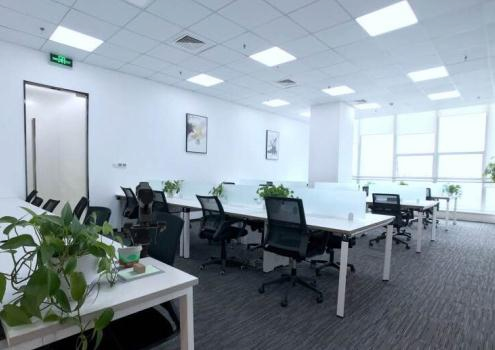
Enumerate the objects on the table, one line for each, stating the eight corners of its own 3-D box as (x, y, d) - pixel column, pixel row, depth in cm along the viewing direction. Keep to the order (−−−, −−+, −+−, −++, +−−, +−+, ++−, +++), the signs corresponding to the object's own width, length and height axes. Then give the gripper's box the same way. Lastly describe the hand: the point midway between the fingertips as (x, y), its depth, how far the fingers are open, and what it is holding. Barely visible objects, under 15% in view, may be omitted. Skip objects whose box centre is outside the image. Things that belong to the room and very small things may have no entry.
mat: (111, 275, 126) (111, 274, 126) (152, 266, 140) (152, 265, 140) (123, 284, 117) (123, 283, 117) (165, 272, 132) (166, 272, 132)
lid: (117, 274, 126) (117, 266, 126) (150, 266, 138) (150, 259, 138) (126, 280, 119) (127, 272, 119) (160, 272, 131) (160, 264, 131)
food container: (123, 271, 131) (123, 250, 131) (116, 268, 135) (117, 247, 135) (146, 265, 141) (147, 245, 141) (139, 262, 145) (140, 243, 145)
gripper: (123, 206, 124) (122, 241, 117) (167, 205, 131) (168, 238, 124) (124, 215, 133) (123, 247, 127) (164, 213, 140) (165, 244, 134)
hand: (145, 244), depth 128 cm, fingers open, 9 cm apart
